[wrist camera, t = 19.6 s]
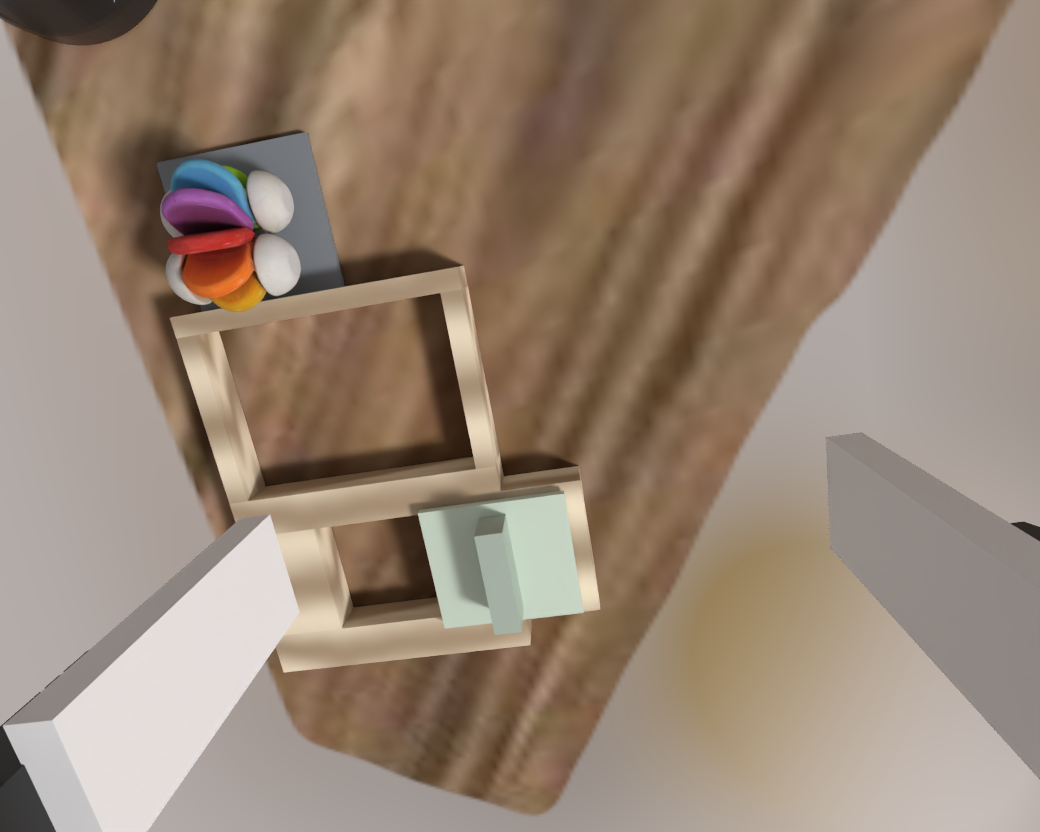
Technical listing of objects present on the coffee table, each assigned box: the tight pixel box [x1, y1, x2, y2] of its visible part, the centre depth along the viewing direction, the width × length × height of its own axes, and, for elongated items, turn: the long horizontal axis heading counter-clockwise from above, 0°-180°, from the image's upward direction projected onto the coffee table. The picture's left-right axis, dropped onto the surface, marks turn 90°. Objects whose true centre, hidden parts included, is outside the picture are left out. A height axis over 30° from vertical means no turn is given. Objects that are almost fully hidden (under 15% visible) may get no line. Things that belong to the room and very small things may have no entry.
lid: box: [418, 490, 583, 635], centre depth 45 cm, size 10×11×4 cm
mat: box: [156, 132, 345, 312], centre depth 43 cm, size 11×11×1 cm
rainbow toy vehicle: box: [160, 159, 301, 312], centre depth 39 cm, size 8×10×7 cm
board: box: [170, 266, 600, 672], centre depth 47 cm, size 30×27×3 cm
